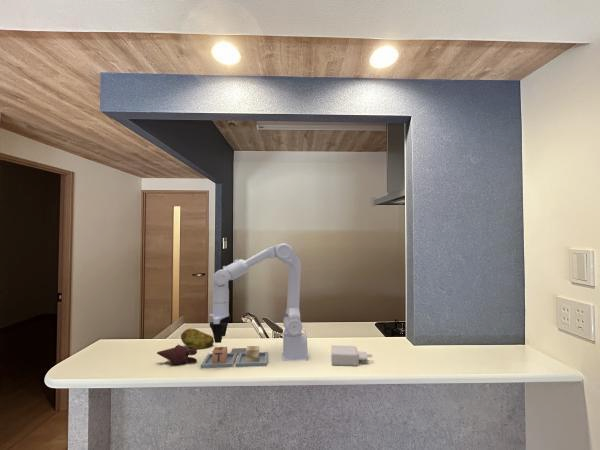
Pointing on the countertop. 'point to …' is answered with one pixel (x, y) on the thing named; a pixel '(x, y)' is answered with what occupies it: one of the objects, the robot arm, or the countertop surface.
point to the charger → (347, 355)
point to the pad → (238, 350)
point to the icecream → (178, 355)
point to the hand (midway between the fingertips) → (220, 339)
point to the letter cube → (219, 355)
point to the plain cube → (252, 354)
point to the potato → (196, 339)
